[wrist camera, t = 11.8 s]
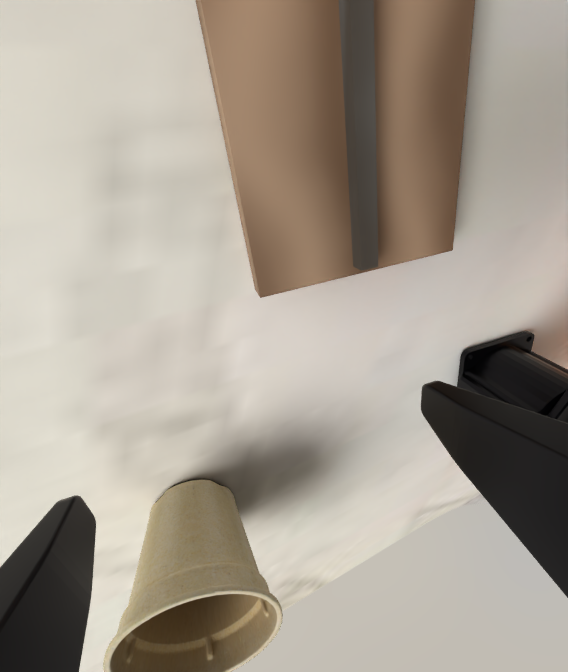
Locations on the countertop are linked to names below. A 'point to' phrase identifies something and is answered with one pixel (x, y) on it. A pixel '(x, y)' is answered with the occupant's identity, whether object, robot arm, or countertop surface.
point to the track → (340, 129)
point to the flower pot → (194, 590)
